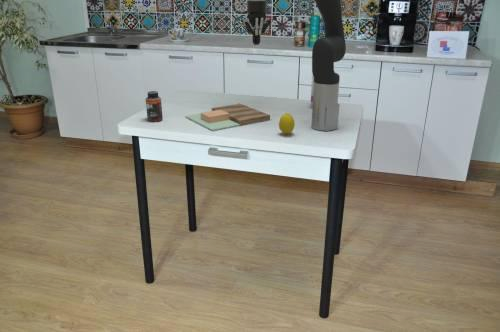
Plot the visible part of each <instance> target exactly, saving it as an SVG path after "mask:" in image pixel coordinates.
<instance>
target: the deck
mask: <svg viewBox="0 0 500 332" xmlns="http://www.w3.org/2000/svg"><path fill="white" fill-rule="evenodd" d="M215 110H223V111H225V112H227V113H229V114H230V120H231V121H233V122H236V123H238V124H240V126H239V127H241V126H247V125H252V124H256V123H262V122H268V121H271V114H268V113H265V112H263V111H260V110H257V109H256V108H253V107H250V106H247V105H245V104H243V103H234V104H229V105H223V106H222V105H221V106H216V107H211V111H215Z"/></svg>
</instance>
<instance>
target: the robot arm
mask: <svg viewBox="0 0 500 332" xmlns="http://www.w3.org/2000/svg"><path fill="white" fill-rule="evenodd" d="M246 2H247V3H246V4H247V5H246V7H247V8H246V10H247V16H246V19H245V20H242V21H241V24H242V25H243V26H244V28H245V30H246V31H247V33H248V34H250V35H251V36H252V44H253V45H255V46H257V45H258V46H259V45H260V43H261V35H262V34H265V32H266V30H267V29H268V27H269V26H270V24H271V19H270V20H269V19H268V18H267V15H266V12H267V0H246ZM314 2H315V5H316V7H317V10H318V12H319V13H320V16H321V18H322V20H323V25H324V36H323V37H319V38H317V39H316V40H315V41H314V43H313V46H312V51H311V52H312V53H311V74H312V76H313V77H314V86H313V103H312V107H311V123H310V124H311V125H310V127H311V128H312V129H313V130H316V131H323V132H329V131H333V130H334V131H335V130H337V129H338V128H339V115H340V105H341V104H340V103H339V91H340V80H341V79H340V74H339V73H337V72H335V68H334V67H335V63H338V62H340V61H341V60H343V59H344V57H345V55H346V51H347V50H346V49H347V46H346V37H345V30H344V26H343V25H344V24H343V14H342V13H343V12H342V1H341V0H314Z"/></svg>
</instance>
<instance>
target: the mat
mask: <svg viewBox="0 0 500 332" xmlns="http://www.w3.org/2000/svg"><path fill="white" fill-rule="evenodd" d="M201 113H202V112H200V113H195V114H188V115H184V118H186V119H188V120H189V121H192V122H193V123H196V124H197V125H199V126H201V127H203V128H205V129H207V130H209V131H211V132H216V131H221V130H225V129H231V128H237V127H241V126H240V124H238V123H236V122H233V121H231V120H226V121H220V122H214V123H208V122H206V121H204V120H202V119H201Z"/></svg>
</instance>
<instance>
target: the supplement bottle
mask: <svg viewBox="0 0 500 332" xmlns="http://www.w3.org/2000/svg"><path fill="white" fill-rule="evenodd" d="M145 107H146V119H147V121H148V122H151V123H152V122H153V123H155V122H156V123H157V122H161V121H162V120H163V119H164V118H163V105H162V98H161V97H160V96H159V91H157V90H150V91H147V97H146V98H145Z"/></svg>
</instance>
